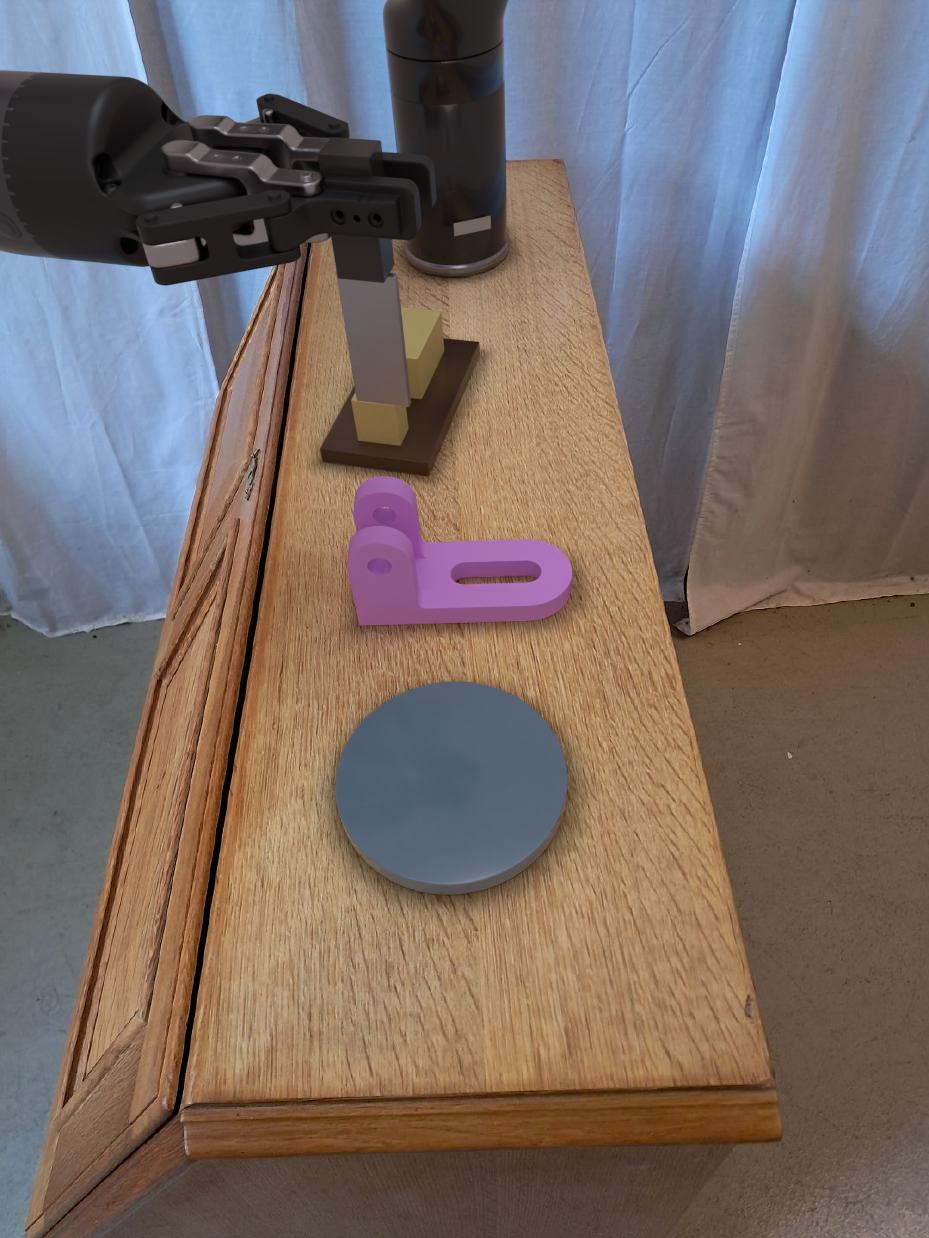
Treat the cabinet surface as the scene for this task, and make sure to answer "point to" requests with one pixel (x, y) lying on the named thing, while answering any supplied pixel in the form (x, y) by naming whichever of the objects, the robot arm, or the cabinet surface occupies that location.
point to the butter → (422, 346)
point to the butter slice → (380, 422)
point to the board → (409, 420)
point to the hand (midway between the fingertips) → (424, 198)
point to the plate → (451, 787)
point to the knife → (368, 287)
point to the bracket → (443, 568)
